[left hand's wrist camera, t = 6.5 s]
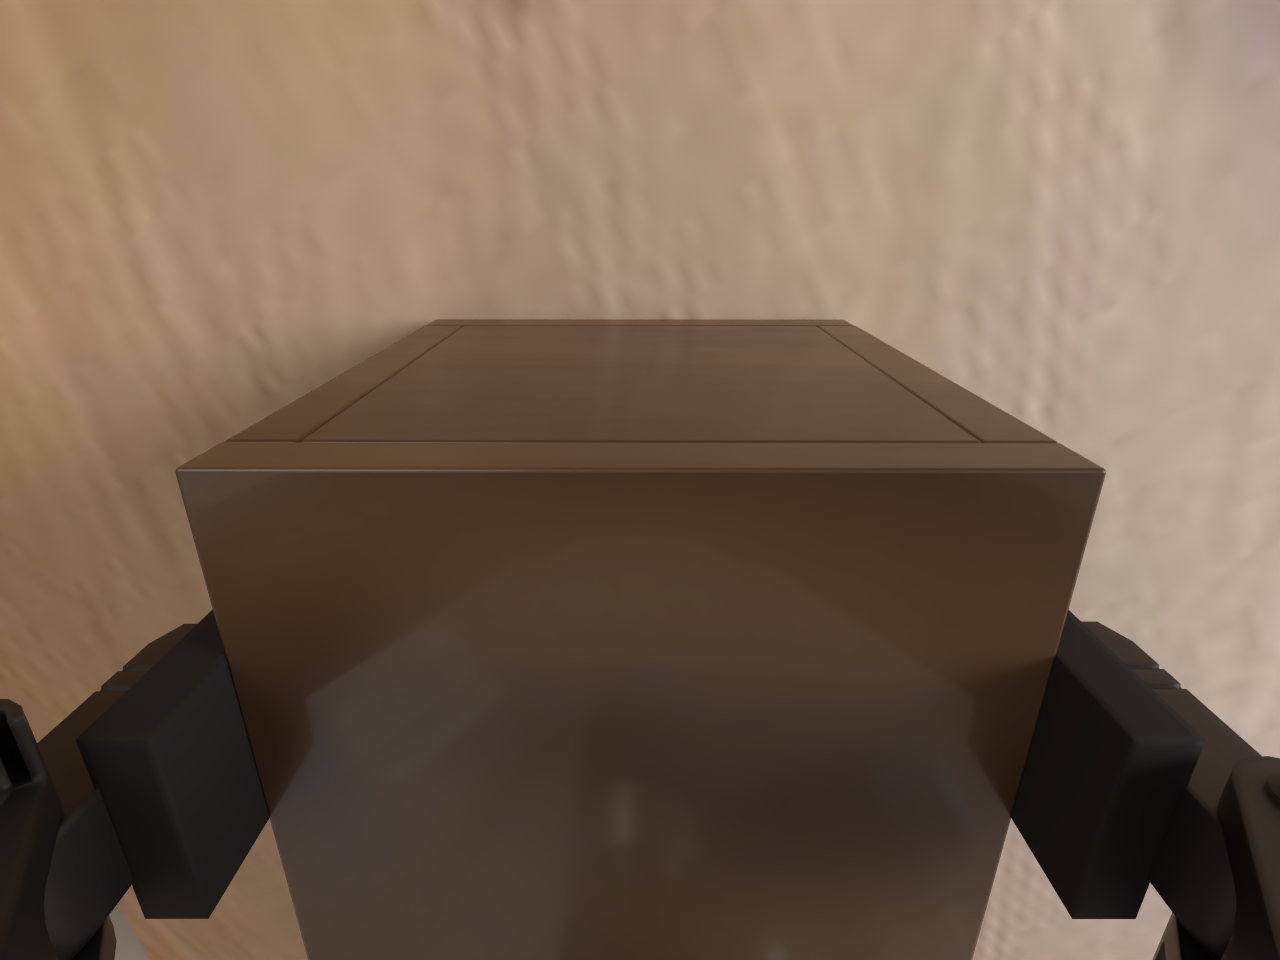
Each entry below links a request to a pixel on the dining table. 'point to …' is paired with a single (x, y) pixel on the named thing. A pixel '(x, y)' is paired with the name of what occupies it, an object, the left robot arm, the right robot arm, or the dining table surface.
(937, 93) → the dining table surface
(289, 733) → the cabinet
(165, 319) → the dining table surface
